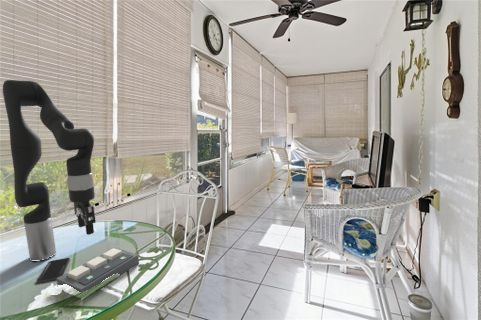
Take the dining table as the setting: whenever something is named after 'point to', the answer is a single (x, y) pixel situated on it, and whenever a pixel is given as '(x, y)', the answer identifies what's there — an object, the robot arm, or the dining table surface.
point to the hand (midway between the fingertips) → (86, 230)
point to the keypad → (102, 272)
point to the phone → (53, 270)
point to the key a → (78, 273)
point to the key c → (112, 254)
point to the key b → (96, 263)
